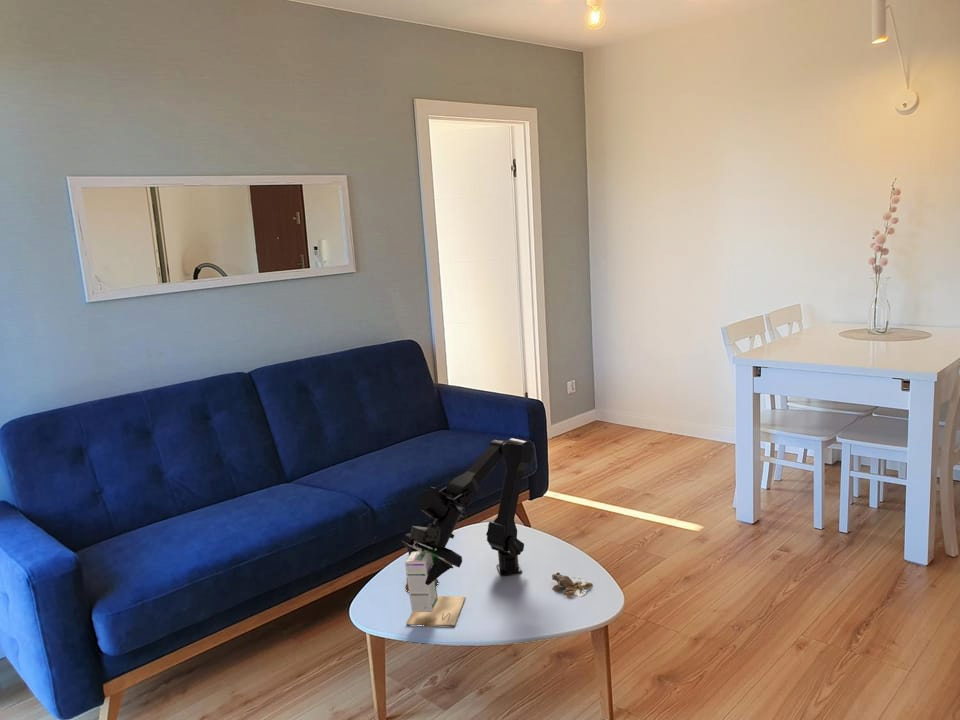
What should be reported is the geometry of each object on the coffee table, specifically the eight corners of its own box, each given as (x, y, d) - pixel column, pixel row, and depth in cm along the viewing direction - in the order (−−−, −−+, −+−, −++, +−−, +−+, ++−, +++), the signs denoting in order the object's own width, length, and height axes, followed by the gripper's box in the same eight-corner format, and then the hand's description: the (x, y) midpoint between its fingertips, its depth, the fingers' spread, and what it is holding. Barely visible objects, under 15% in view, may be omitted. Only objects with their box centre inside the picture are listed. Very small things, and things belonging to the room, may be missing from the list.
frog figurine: (540, 594, 204) (539, 582, 204) (561, 575, 214) (560, 563, 213) (577, 604, 198) (576, 591, 197) (597, 584, 207) (597, 571, 206)
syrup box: (432, 612, 193) (426, 561, 190) (410, 612, 194) (404, 561, 191) (438, 600, 198) (432, 550, 195) (416, 600, 200) (410, 550, 197)
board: (406, 625, 194) (406, 623, 194) (420, 597, 208) (420, 595, 207) (454, 627, 192) (454, 624, 191) (465, 598, 205) (465, 596, 205)
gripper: (403, 505, 200) (375, 558, 195) (449, 521, 187) (420, 579, 182) (428, 521, 207) (402, 574, 202) (474, 538, 194) (447, 595, 189)
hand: (417, 580), depth 194 cm, fingers closed on syrup box, 7 cm apart
